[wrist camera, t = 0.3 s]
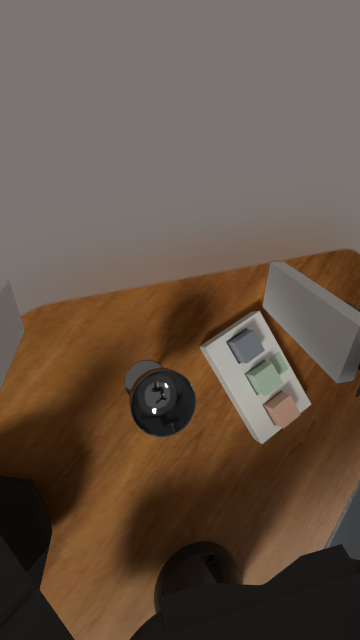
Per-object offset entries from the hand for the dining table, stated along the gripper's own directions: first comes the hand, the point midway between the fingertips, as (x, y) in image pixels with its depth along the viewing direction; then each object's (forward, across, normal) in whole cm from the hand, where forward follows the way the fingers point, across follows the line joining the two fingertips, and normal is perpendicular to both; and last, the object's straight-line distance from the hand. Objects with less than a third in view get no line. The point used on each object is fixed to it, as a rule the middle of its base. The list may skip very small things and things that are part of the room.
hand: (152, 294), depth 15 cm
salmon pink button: (+18, -24, +34) cm, 45 cm away
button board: (+23, -21, +30) cm, 43 cm away
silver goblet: (+24, -1, +28) cm, 36 cm away
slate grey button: (+24, -18, +23) cm, 38 cm away
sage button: (+21, -21, +28) cm, 41 cm away
